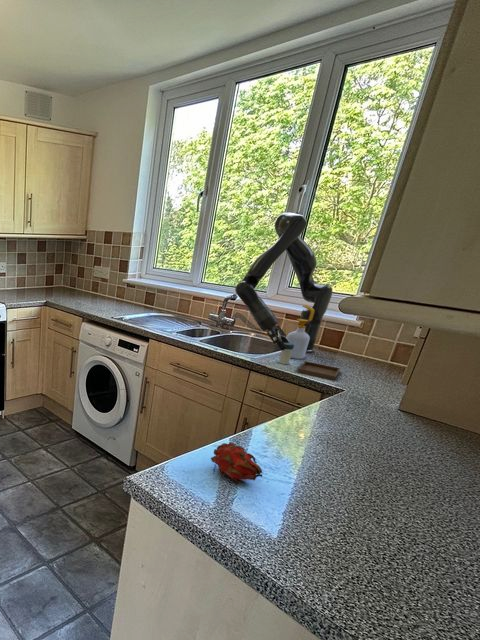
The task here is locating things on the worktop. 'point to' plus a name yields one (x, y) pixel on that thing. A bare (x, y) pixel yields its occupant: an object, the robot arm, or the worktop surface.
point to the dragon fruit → (236, 462)
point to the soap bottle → (300, 337)
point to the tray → (319, 370)
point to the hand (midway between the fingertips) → (286, 347)
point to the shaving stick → (286, 353)
